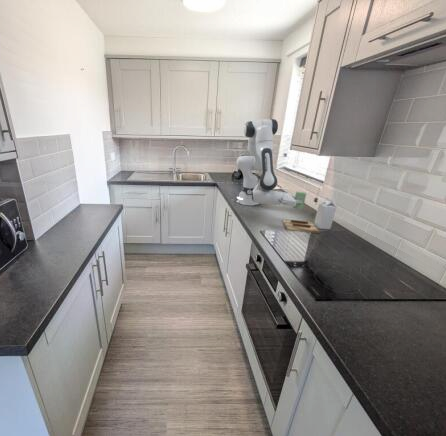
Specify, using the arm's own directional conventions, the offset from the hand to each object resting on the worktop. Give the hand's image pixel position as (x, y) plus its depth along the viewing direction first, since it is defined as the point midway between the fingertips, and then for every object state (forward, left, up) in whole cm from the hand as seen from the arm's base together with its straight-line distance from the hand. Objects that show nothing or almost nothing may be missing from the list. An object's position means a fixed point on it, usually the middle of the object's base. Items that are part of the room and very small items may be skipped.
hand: (301, 200), depth 144 cm
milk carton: (-3, +16, -17) cm, 24 cm away
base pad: (+1, +2, -17) cm, 17 cm away
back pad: (0, -1, -5) cm, 5 cm away
